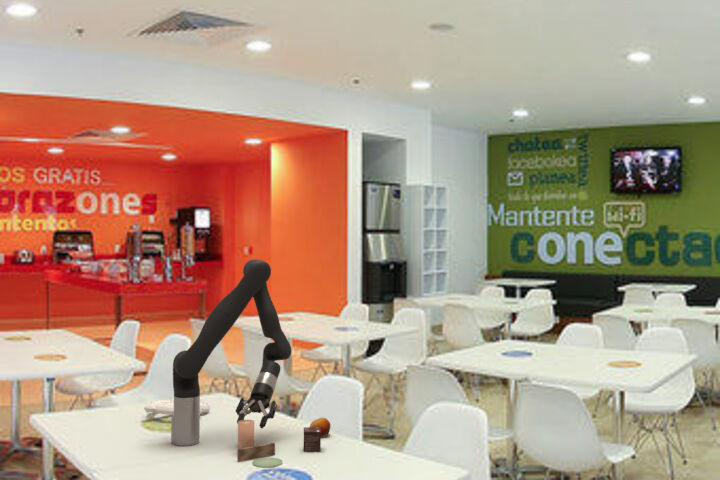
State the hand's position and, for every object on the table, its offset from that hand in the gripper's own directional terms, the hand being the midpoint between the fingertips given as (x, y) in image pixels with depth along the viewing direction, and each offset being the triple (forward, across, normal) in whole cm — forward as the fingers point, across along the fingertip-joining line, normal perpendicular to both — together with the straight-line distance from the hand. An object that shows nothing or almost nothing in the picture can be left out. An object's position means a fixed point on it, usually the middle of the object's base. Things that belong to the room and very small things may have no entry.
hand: (250, 426), depth 274 cm
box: (0, +20, +13) cm, 24 cm away
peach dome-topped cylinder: (+8, 0, +4) cm, 9 cm away
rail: (+11, +6, +1) cm, 13 cm away
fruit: (-13, +16, +26) cm, 33 cm away
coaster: (+14, +12, -2) cm, 18 cm away
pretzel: (-19, -51, +32) cm, 63 cm away
